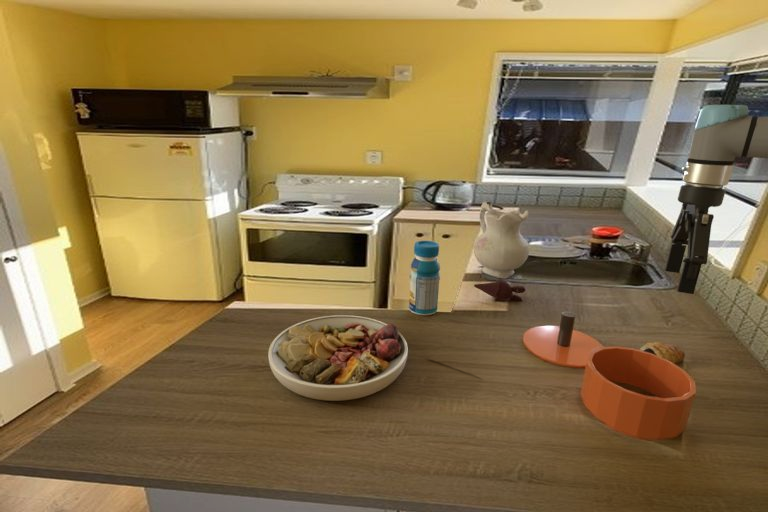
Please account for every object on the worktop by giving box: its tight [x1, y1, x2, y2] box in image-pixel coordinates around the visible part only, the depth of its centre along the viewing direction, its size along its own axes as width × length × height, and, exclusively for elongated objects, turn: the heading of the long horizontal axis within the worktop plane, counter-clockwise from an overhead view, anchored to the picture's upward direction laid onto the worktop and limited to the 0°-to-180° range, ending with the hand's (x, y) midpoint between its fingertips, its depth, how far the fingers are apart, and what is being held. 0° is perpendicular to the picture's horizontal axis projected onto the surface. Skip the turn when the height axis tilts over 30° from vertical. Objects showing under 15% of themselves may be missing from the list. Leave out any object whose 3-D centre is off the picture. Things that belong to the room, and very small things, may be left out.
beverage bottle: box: [408, 240, 441, 316], centre depth 119 cm, size 8×8×20 cm
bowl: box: [267, 314, 409, 402], centre depth 93 cm, size 30×30×8 cm
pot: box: [579, 345, 697, 442], centre depth 81 cm, size 18×18×8 cm
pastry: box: [639, 341, 686, 365], centre depth 99 cm, size 9×7×4 cm
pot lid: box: [522, 311, 604, 369], centre depth 102 cm, size 19×19×9 cm
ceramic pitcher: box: [473, 199, 531, 279], centre depth 151 cm, size 22×20×25 cm
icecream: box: [473, 278, 526, 302], centre depth 129 cm, size 7×7×15 cm
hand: (678, 281), depth 93 cm, fingers open, 13 cm apart
